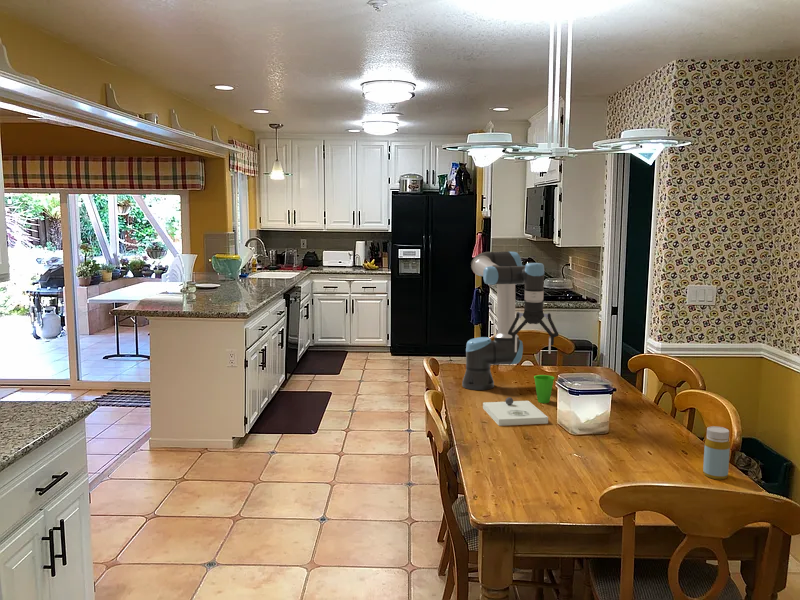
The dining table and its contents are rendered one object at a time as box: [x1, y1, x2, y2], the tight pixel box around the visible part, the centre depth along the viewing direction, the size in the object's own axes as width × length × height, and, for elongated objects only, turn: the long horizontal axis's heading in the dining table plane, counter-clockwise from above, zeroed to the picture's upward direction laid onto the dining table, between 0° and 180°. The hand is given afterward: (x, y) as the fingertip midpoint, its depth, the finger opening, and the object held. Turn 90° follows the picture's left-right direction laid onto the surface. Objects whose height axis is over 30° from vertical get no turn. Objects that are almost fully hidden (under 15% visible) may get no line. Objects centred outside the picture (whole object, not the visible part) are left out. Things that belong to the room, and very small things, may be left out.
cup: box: [533, 374, 556, 404], centre depth 286 cm, size 9×9×11 cm
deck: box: [482, 400, 549, 427], centre depth 266 cm, size 24×20×2 cm
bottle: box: [702, 425, 731, 481], centre depth 202 cm, size 7×7×15 cm
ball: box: [505, 397, 514, 405], centre depth 273 cm, size 3×3×3 cm
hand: (532, 352), depth 267 cm, fingers open, 13 cm apart
